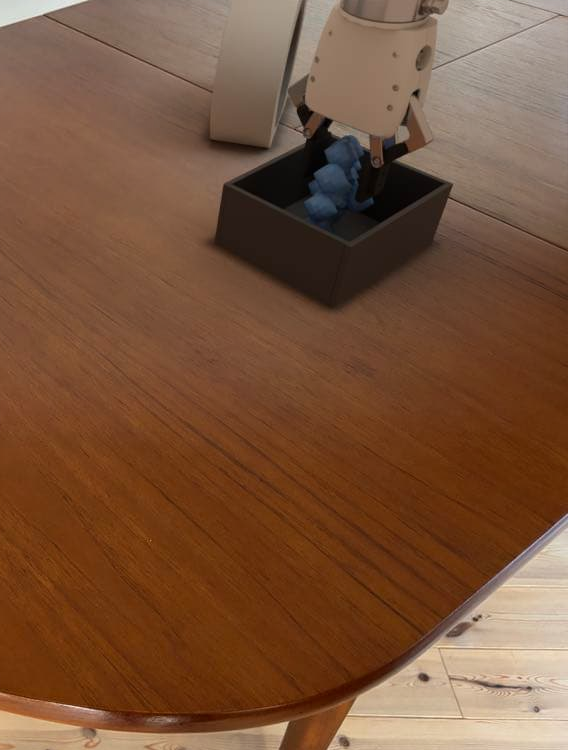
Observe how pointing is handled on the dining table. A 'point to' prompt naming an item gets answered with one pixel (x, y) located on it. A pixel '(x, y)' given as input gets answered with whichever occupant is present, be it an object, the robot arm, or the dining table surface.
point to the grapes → (336, 185)
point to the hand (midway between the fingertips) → (338, 183)
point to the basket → (351, 234)
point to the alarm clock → (255, 69)
